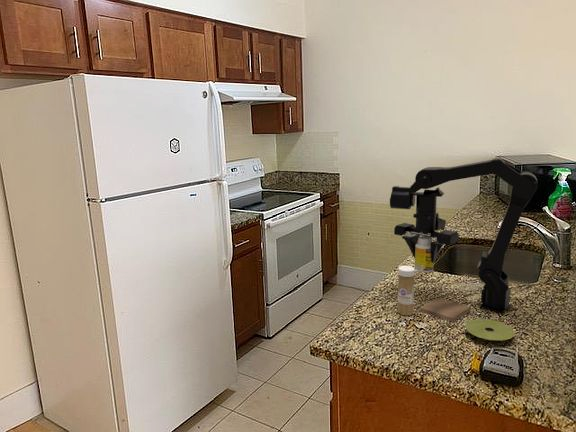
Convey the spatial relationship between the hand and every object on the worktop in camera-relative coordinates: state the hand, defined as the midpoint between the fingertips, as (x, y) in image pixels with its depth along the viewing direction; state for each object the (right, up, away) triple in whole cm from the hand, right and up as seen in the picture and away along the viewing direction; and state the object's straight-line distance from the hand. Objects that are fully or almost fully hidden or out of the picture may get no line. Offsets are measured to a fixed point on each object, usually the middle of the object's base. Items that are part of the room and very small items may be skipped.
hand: (424, 260), depth 131 cm
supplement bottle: (0, -3, +1) cm, 3 cm away
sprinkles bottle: (-8, -14, -8) cm, 18 cm away
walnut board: (+3, -14, -8) cm, 16 cm away
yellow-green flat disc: (+9, -17, -23) cm, 30 cm away
